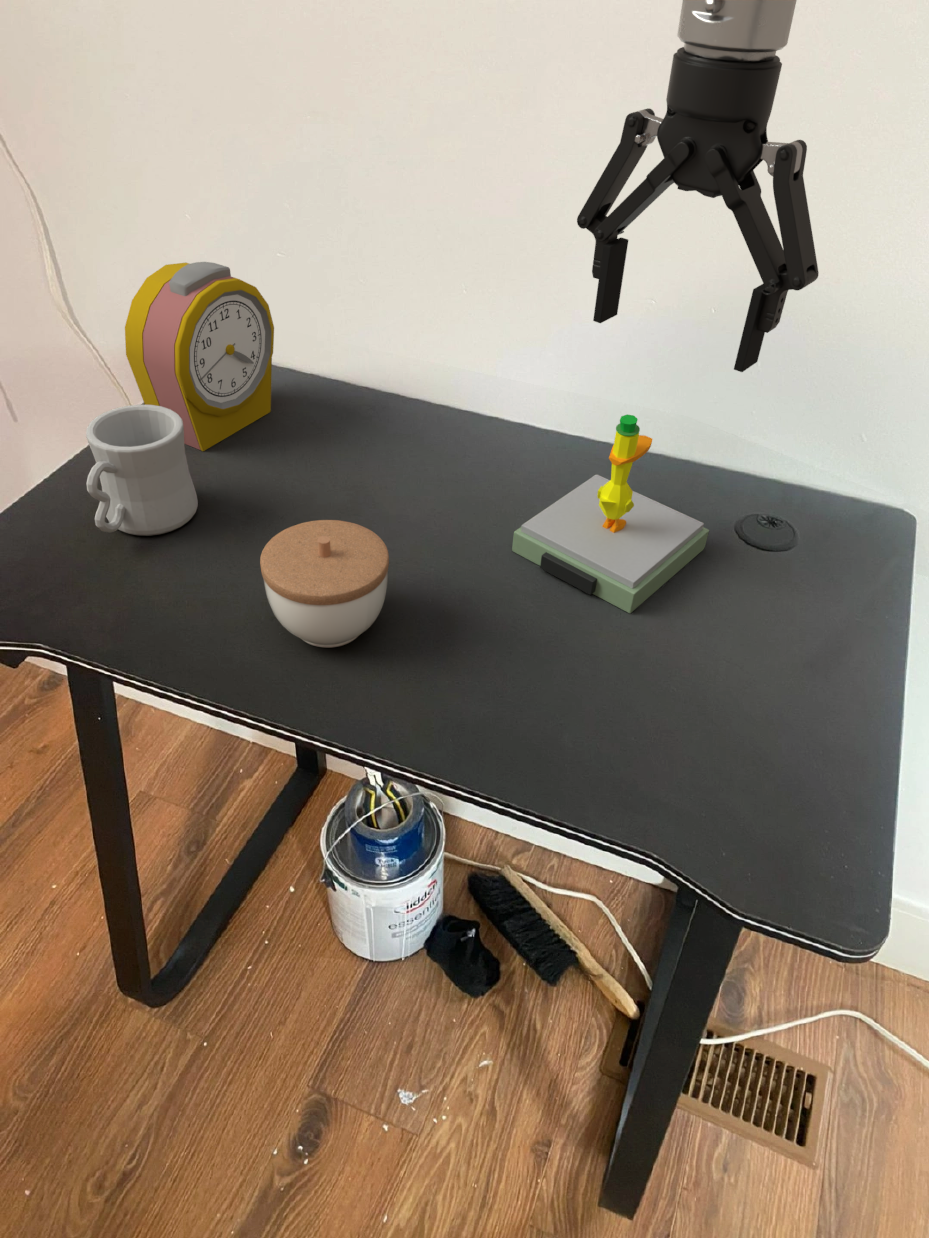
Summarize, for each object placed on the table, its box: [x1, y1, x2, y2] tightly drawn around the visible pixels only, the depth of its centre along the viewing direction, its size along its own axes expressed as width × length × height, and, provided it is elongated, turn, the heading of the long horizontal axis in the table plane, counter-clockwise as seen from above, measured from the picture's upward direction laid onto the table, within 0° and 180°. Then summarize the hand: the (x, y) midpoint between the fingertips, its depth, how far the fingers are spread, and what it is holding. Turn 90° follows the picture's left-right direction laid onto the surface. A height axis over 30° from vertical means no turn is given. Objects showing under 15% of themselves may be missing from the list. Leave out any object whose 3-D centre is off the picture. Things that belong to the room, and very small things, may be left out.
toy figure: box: [597, 414, 653, 533], centre depth 86 cm, size 7×4×12 cm, turn 138°
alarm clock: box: [124, 261, 275, 452], centre depth 102 cm, size 15×8×18 cm, turn 148°
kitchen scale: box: [511, 474, 710, 614], centre depth 91 cm, size 14×15×3 cm
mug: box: [85, 404, 199, 537], centre depth 89 cm, size 12×9×10 cm
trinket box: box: [259, 519, 390, 648], centre depth 79 cm, size 11×11×9 cm
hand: (672, 341), depth 78 cm, fingers open, 13 cm apart
